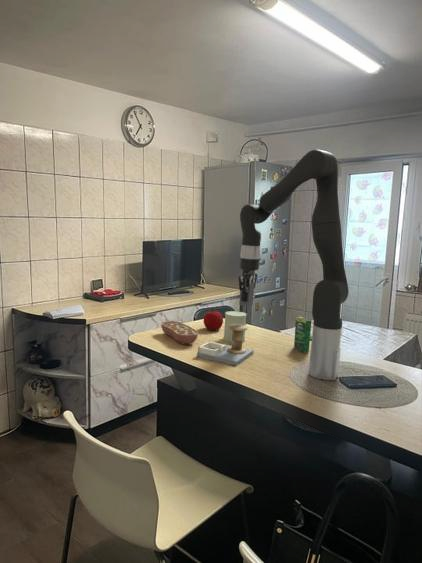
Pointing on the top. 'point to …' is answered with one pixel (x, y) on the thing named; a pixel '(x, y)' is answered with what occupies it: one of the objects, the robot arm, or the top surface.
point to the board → (221, 353)
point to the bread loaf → (180, 332)
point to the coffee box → (302, 334)
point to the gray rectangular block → (250, 296)
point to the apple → (213, 320)
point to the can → (233, 318)
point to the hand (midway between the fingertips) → (246, 300)
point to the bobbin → (237, 339)
